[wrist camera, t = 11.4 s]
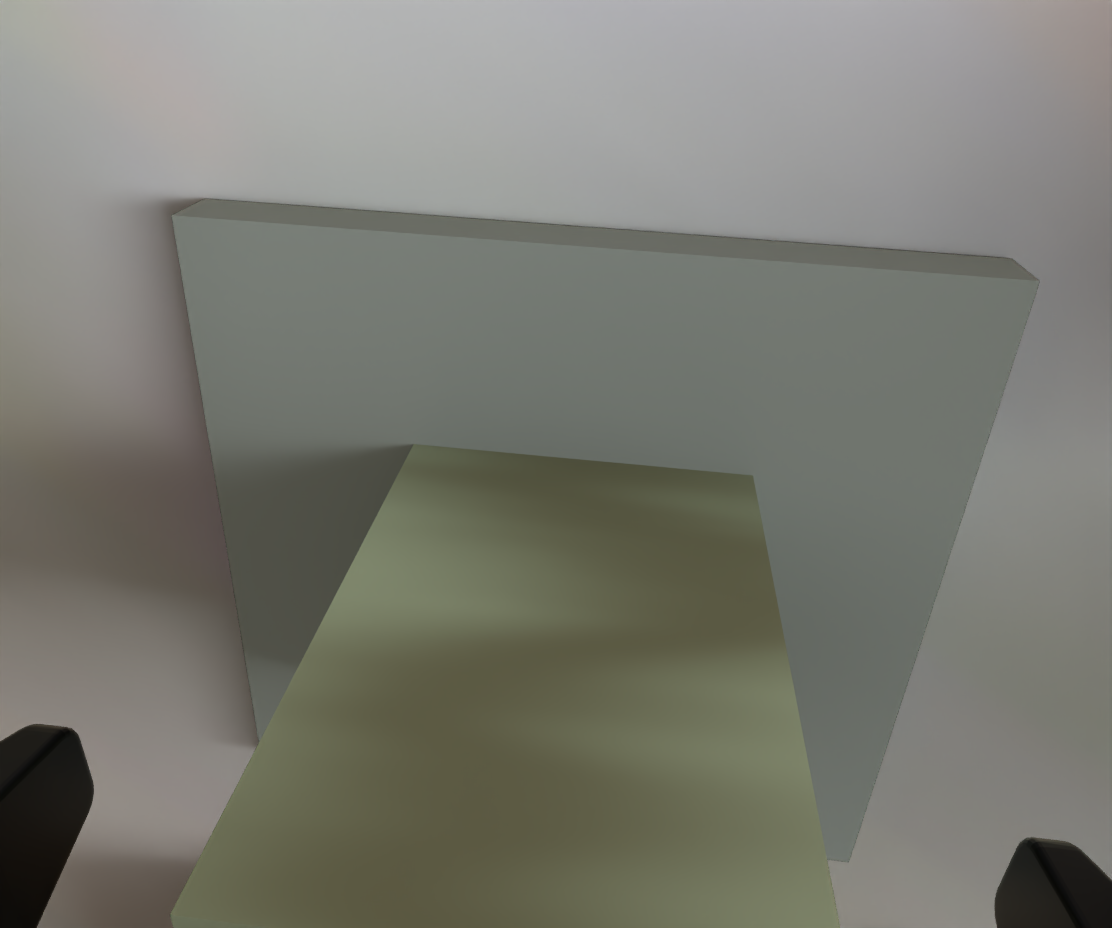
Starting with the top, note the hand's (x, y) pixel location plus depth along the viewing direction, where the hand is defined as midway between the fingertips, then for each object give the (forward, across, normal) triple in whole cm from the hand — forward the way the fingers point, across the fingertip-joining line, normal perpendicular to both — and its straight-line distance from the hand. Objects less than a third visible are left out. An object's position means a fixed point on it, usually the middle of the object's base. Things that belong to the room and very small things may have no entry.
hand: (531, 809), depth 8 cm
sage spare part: (+3, 0, 0) cm, 3 cm away
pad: (+4, 0, 0) cm, 4 cm away
